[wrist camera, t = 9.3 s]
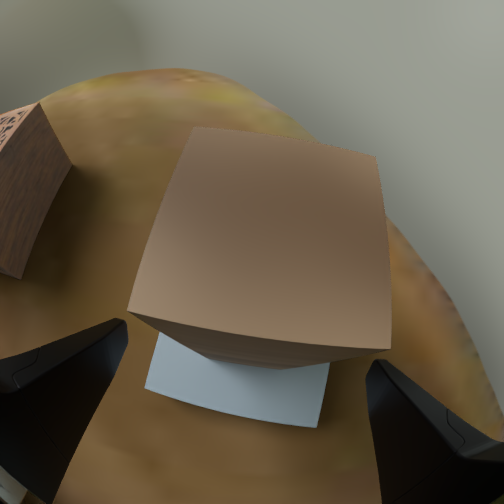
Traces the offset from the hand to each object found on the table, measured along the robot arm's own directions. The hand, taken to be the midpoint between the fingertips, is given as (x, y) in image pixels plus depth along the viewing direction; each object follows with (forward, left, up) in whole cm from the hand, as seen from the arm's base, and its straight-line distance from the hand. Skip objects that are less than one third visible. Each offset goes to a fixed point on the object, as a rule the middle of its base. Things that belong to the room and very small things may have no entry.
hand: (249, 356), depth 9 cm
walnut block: (+2, 0, -8) cm, 8 cm away
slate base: (+2, 0, -10) cm, 11 cm away
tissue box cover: (+6, +36, -11) cm, 38 cm away
